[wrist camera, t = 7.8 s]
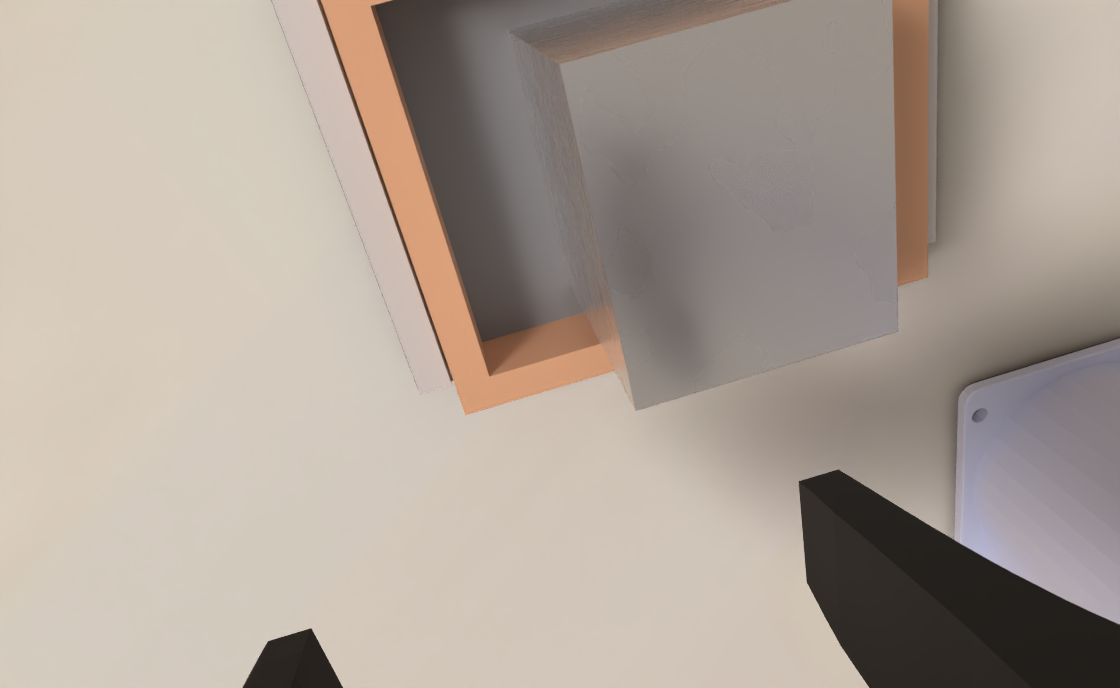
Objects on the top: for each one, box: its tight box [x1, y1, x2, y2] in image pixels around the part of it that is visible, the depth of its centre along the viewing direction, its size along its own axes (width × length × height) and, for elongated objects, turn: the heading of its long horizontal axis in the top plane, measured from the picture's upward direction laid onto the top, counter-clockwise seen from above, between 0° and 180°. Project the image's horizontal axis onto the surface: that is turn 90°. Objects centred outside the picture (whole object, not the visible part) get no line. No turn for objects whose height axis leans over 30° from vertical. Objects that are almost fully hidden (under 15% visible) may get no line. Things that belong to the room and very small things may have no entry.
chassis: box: [271, 0, 938, 415], centre depth 17 cm, size 10×14×3 cm
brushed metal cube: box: [508, 0, 898, 411], centre depth 15 cm, size 6×5×6 cm
